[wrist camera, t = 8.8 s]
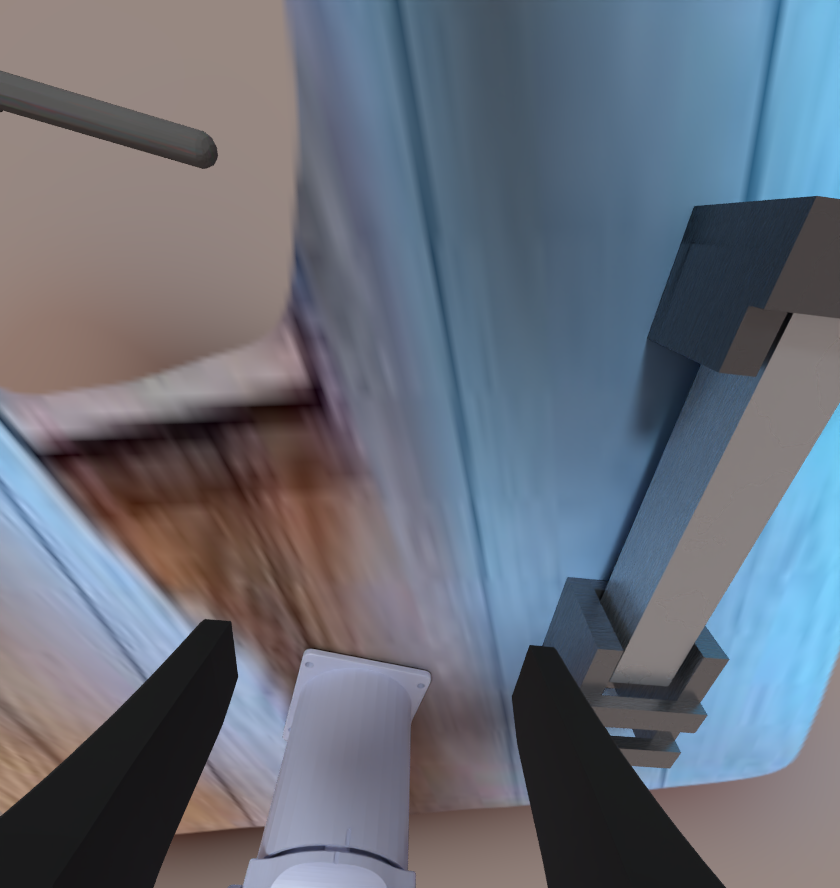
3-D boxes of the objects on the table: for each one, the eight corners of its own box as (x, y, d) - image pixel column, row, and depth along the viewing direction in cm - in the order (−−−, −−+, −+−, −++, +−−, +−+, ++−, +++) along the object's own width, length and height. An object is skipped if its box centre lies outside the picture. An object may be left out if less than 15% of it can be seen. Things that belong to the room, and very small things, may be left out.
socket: (806, 357, 17) (945, 403, 13) (647, 338, 17) (731, 379, 12) (874, 230, 15) (1071, 231, 11) (694, 206, 15) (816, 195, 10)
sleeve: (628, 679, 27) (669, 768, 22) (533, 671, 27) (556, 760, 22) (677, 587, 23) (738, 671, 19) (567, 577, 23) (603, 661, 19)
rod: (640, 634, 24) (668, 686, 21) (587, 630, 23) (609, 682, 21) (818, 285, 15) (903, 296, 13) (739, 275, 15) (807, 284, 12)
